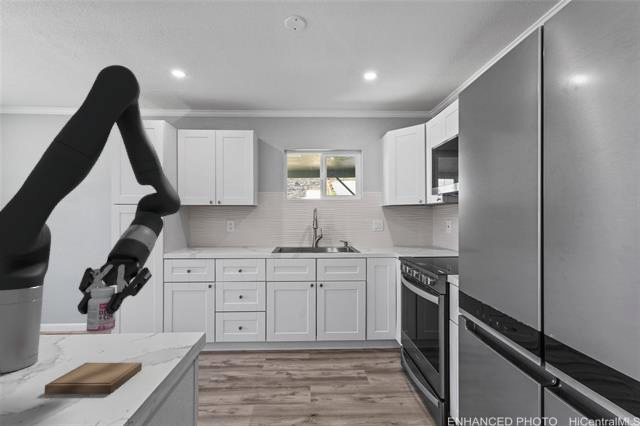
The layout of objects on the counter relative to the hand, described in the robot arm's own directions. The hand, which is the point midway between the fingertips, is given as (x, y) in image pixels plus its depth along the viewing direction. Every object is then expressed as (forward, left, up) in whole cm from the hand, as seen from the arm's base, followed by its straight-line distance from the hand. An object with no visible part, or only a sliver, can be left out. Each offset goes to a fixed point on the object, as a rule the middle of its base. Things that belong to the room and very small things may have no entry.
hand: (95, 311), depth 60 cm
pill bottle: (0, +2, -4) cm, 5 cm away
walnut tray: (0, +2, -14) cm, 14 cm away
